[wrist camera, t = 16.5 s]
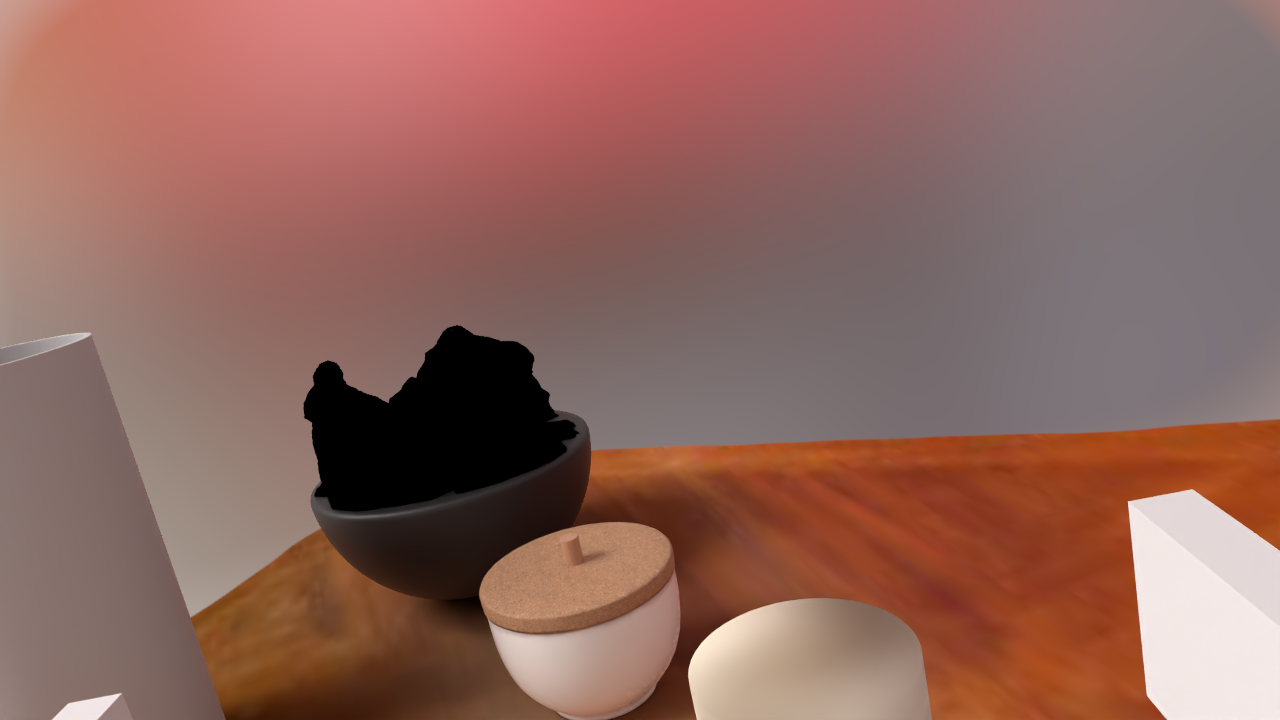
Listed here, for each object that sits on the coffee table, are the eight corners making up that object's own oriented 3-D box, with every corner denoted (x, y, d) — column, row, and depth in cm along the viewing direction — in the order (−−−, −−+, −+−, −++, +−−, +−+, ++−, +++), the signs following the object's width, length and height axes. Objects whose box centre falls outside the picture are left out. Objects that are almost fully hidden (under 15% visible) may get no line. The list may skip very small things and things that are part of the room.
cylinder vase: (-67, 910, 45) (-287, 431, 39) (53, 752, 57) (-101, 369, 51) (193, 839, 46) (17, 365, 40) (257, 699, 58) (128, 320, 53)
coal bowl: (643, 512, 75) (594, 288, 71) (570, 651, 56) (498, 358, 52) (425, 532, 80) (367, 325, 76) (292, 665, 62) (206, 401, 57)
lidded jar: (670, 617, 58) (641, 480, 56) (723, 710, 48) (690, 546, 45) (503, 668, 56) (466, 528, 54) (521, 777, 46) (476, 609, 44)
